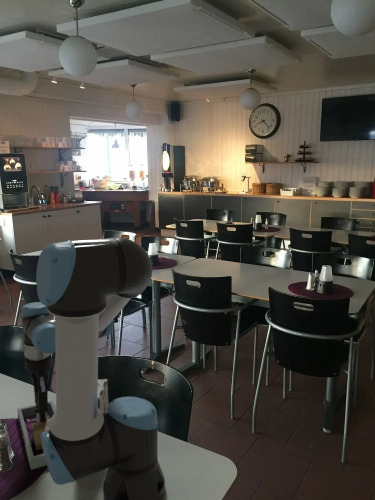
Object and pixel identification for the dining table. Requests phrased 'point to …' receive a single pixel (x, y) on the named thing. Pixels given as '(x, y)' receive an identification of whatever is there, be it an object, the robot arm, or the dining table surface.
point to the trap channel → (31, 415)
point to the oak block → (39, 432)
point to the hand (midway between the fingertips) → (42, 429)
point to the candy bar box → (102, 395)
